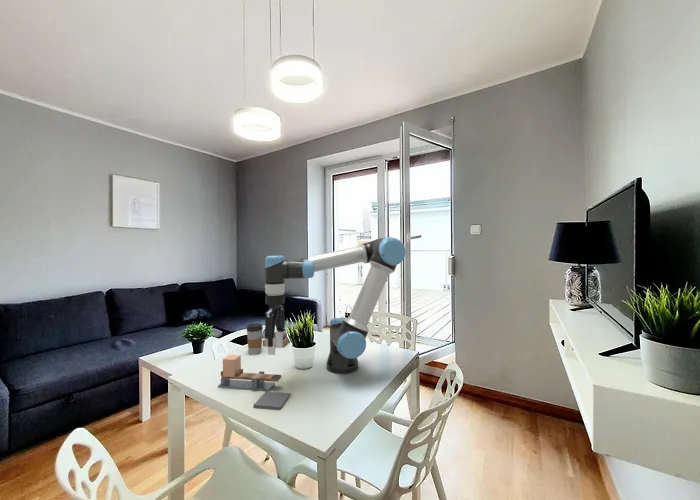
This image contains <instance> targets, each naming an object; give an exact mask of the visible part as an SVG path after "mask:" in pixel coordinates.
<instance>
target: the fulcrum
mask: <svg viewBox="0 0 700 500" xmlns="http://www.w3.org/2000/svg"><path fill="white" fill-rule="evenodd" d="M260 373H262V374H265V371H259V373H258V374H260ZM275 386H276V382H271V381H257V378H252V380H241V379H226V378H221V377H220V383H219V384H218V385H217V388H219V389H229V390H232V389H233V390H244V391H247V390H248V391H259V392H266V391H269V392H271V390H272V389H273V388H274V387H275Z"/></svg>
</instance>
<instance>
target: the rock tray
mask: <svg viewBox="0 0 700 500" xmlns="http://www.w3.org/2000/svg"><path fill="white" fill-rule="evenodd" d="M276 332H277V331H275V332H274V335H275V333H276ZM284 333H285V336H286V338H285V339H284V340H283V348H285V347H286V346H287V345H289V343H290V342H289V339H288V337H287V333H288V332H284ZM263 346H268V338H264V339H262V347H263ZM275 348H276V341H275ZM283 348H282V349H283Z"/></svg>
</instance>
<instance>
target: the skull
mask: <svg viewBox="0 0 700 500" xmlns="http://www.w3.org/2000/svg"><path fill="white" fill-rule="evenodd" d="M282 332H283V340H284V339H285V338H286V336H285V333H286V332H285V331H282ZM274 338H275V341H276V333H275V335H274Z"/></svg>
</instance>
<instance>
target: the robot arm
mask: <svg viewBox="0 0 700 500" xmlns="http://www.w3.org/2000/svg"><path fill="white" fill-rule="evenodd" d="M405 258H406V248H405V245H404V243H403V242H402V241H401V239H398V238H396V237H392V236H388V237H380V238H377V239H374V240H371V241H367V242H365V243H364V242H363V243H360V245H359V246H355V247H349V248H345V249H341V250H339V249H338V250H335V251H330V252H325V253H321V254H316V255H315V254H314V255H310V256H306V257H302V258H301V257H300V258H294V259H293V260H287V259H285V256H284V255H267V256H265V259H264V260H265V262H264V281H265V282H264V283H265V285H264V289H265V290H264V291H265V294H266V295H265V297H264V298H265V305H267V306H269V307H268V311H265V313H264V316H265V317H264V318H265V322H264V339H266V338H268V347H267V355H269V356H271V355H272V356H275V355H276V348H277V349H278V348H279V349H283V332H285V331H286V324H285V323H286V322H285V305H284V304H285V299H286V297H285V293H286V292H285V291H286V290H285V289H286V288H285V287H286V286H285V285H286V284H285V280H290V279H305V280H306V279H312V278H314V277H315V273H316V272H320V271H321V272H322V271H327V270H331V269H336V268H340V267H345V266H350V265H355V264H359V263H363V264H369V263H370V264H369V265H370V267H369V270H368V272H367V275H366V277H365V279H364V282H363V284H362V286H361V288H360V291H359V293H358V295H357V296H356V297H357V298H356V300H355V303H354V305H353V307H352V309H351V311H350V314H349V316H348V317H336V318H331V319H330V321H329V354H328V357H327V359H326V364H325V365H326V367H325V368H326V370H327V371H329V372H330V373H333V374H343V375H344V374H350V373H354V372H356V371H358V370H359V369H358V368H359V360H358V358H359V357H360V356H362V354H364V352H365V351H366V348H367V340H366V339H367V335H368V333H369V331H370V330H369V327H368V324H369V322H370V320H371V317H372V315H373V313H374V310H375V308H376V306H377V303H378V302H379V298H380V297H381V294H382V292H383V289H384V287H385V285H386V283H387V281H388V278H389V277H390V274H393V273H394V272H395V270H396V269H397V267H398V266H397V265H400V264H401V263H402V262H403V261H404V259H405ZM275 330H276V331H275ZM282 331H283V332H282ZM274 332H276V347H275V338H274Z"/></svg>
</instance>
